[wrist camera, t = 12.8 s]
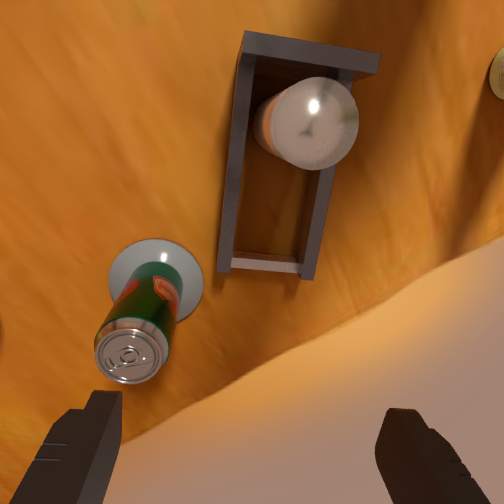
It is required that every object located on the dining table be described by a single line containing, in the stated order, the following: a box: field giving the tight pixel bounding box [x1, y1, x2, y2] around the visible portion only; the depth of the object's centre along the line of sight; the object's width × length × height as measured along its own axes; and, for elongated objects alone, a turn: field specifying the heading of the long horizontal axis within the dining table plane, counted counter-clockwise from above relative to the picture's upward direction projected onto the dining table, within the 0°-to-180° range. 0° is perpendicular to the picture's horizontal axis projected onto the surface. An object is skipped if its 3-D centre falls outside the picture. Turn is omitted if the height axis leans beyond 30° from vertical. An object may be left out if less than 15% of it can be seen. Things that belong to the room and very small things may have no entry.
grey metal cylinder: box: [253, 77, 359, 170], centre depth 26 cm, size 5×5×12 cm
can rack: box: [217, 30, 381, 281], centre depth 29 cm, size 18×9×8 cm, turn 173°
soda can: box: [94, 261, 183, 384], centre depth 29 cm, size 5×5×12 cm
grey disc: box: [109, 238, 203, 322], centre depth 35 cm, size 9×9×1 cm
